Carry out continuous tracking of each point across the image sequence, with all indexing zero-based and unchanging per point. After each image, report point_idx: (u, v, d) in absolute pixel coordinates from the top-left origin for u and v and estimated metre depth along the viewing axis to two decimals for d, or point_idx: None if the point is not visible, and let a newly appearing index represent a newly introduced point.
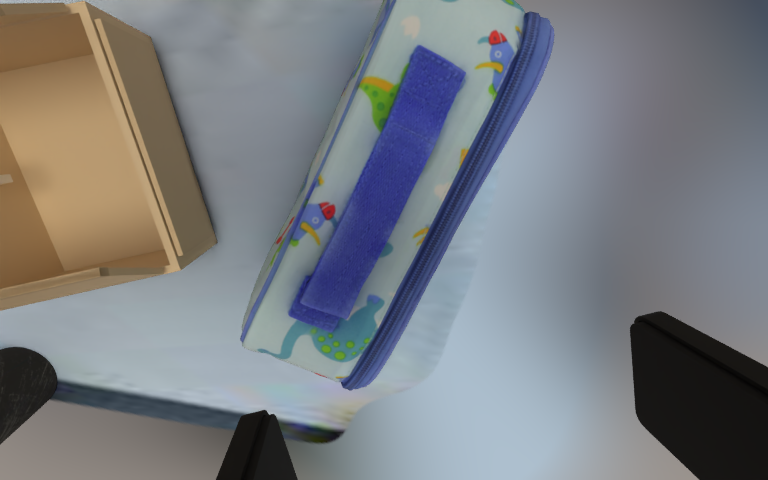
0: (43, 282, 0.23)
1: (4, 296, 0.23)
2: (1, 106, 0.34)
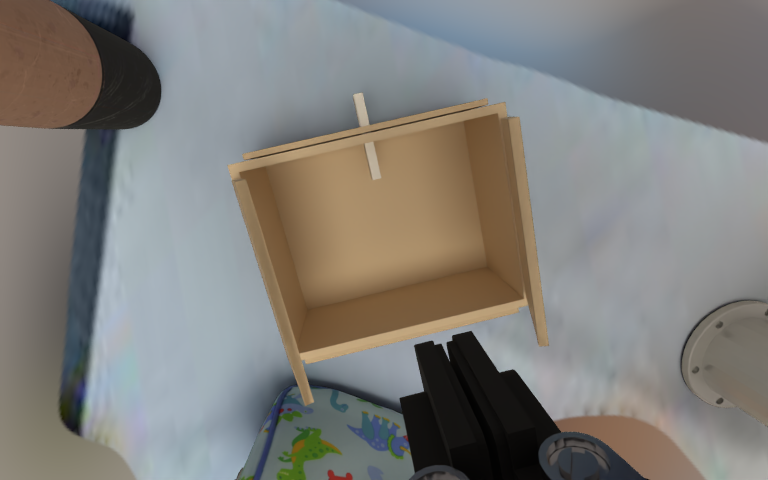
0: (296, 353, 0.22)
1: (279, 318, 0.21)
2: (436, 135, 0.35)
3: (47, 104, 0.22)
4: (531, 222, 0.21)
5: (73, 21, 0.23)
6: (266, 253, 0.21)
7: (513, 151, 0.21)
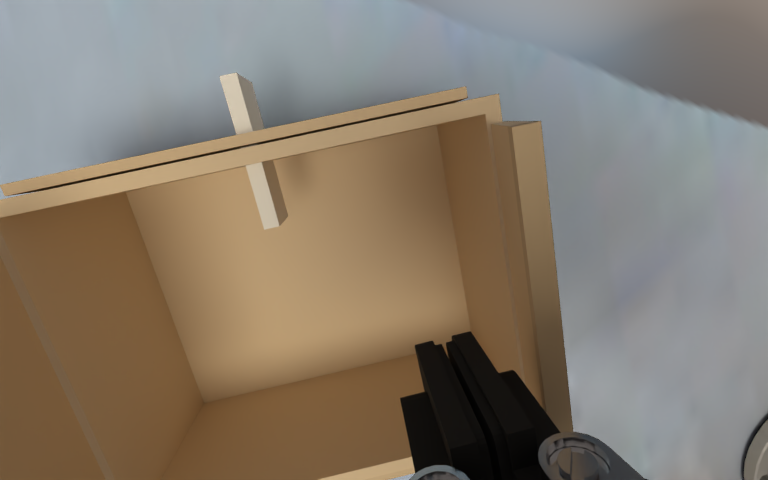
0: None
1: None
2: (394, 147, 0.23)
3: None
4: (563, 374, 0.09)
5: None
6: None
7: (523, 208, 0.08)
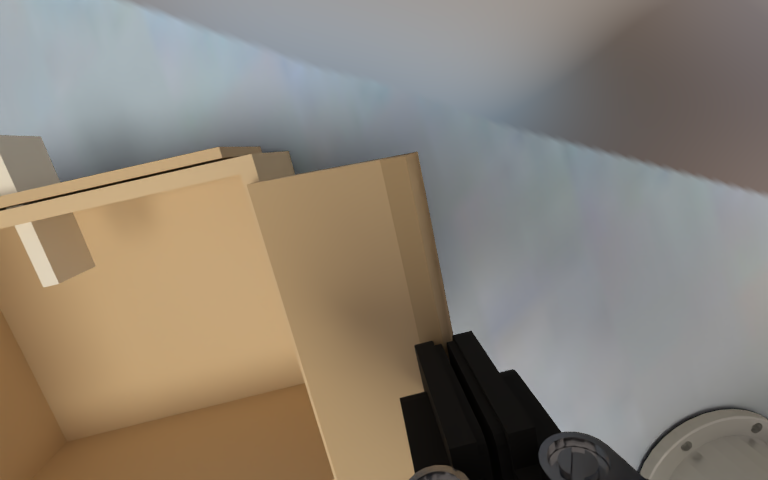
0: None
1: None
2: (238, 186, 0.23)
3: None
4: None
5: None
6: None
7: (418, 221, 0.10)
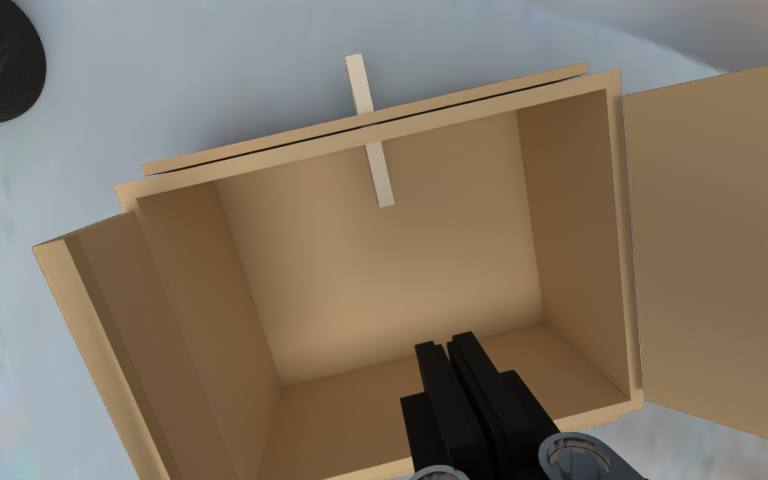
0: None
1: None
2: (474, 130, 0.23)
3: None
4: None
5: None
6: (133, 409, 0.09)
7: None
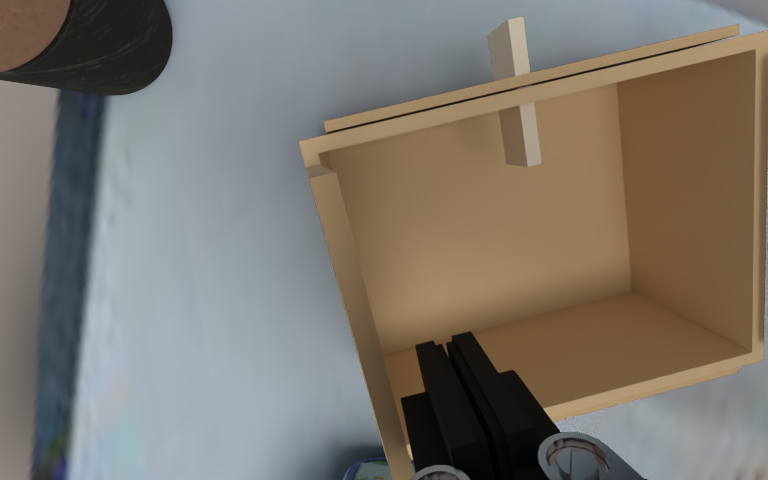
0: None
1: (393, 471, 0.10)
2: (576, 103, 0.24)
3: None
4: None
5: None
6: (375, 340, 0.09)
7: None
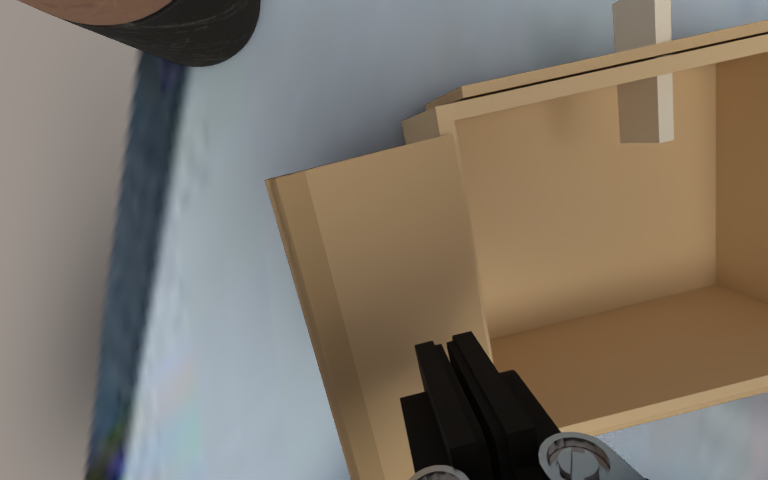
0: None
1: (342, 440, 0.11)
2: (673, 85, 0.23)
3: None
4: None
5: None
6: (316, 330, 0.10)
7: None
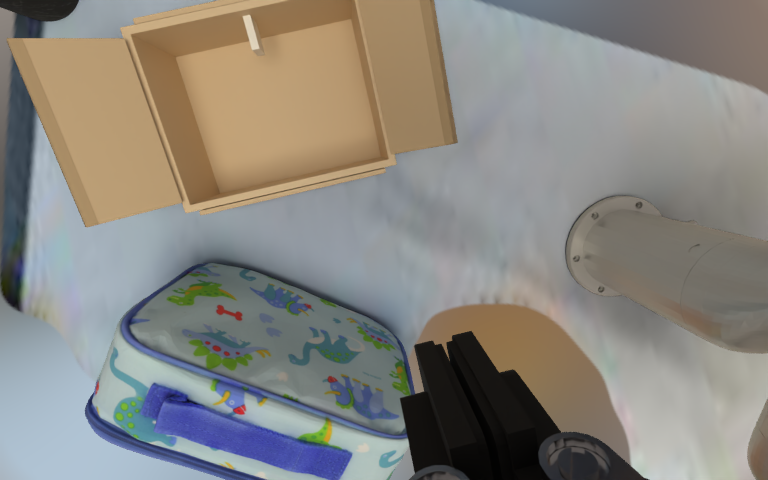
0: (68, 184, 0.29)
1: (54, 153, 0.28)
2: (327, 31, 0.40)
3: None
4: (438, 33, 0.28)
5: None
6: (32, 99, 0.27)
7: None
